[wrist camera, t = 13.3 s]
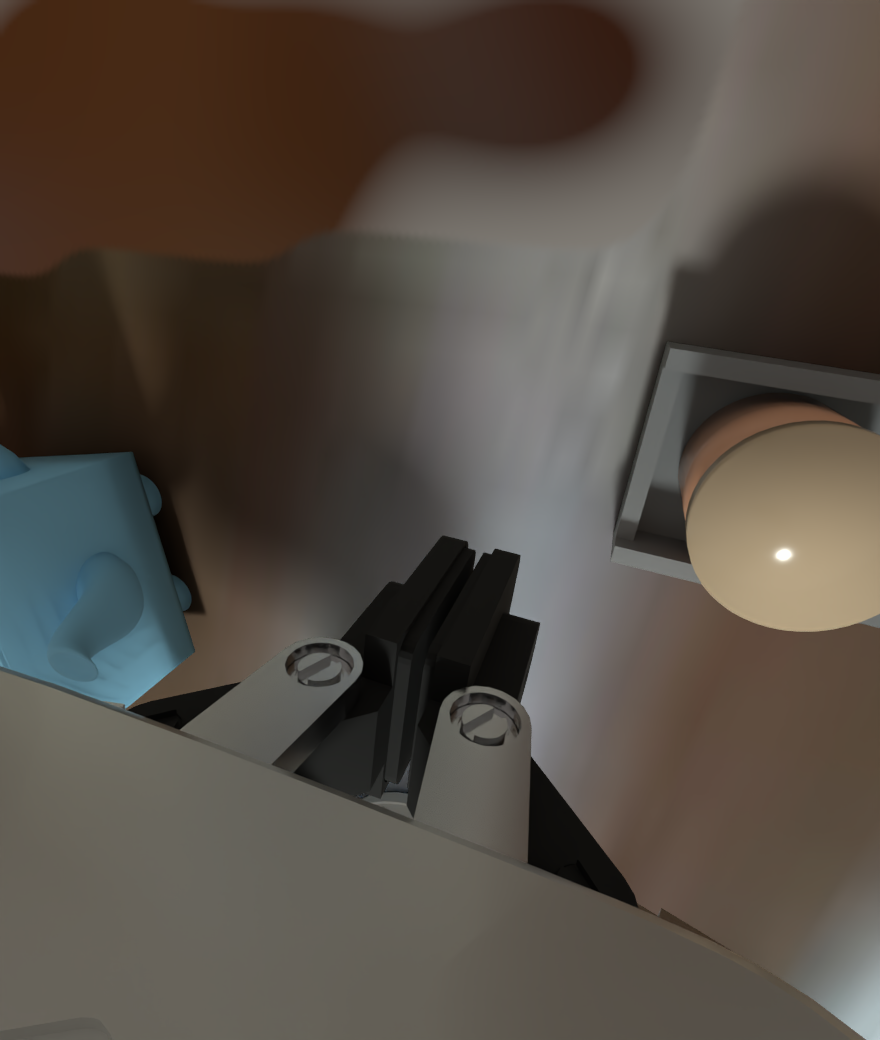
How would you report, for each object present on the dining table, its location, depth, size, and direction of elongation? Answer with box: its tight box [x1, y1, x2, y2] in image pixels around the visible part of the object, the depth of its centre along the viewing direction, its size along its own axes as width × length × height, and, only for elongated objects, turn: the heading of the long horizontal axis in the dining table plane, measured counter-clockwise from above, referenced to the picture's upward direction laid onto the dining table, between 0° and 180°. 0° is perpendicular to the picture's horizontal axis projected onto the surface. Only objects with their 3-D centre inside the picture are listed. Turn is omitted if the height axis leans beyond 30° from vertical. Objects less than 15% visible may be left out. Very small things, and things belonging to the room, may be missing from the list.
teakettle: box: [0, 444, 195, 709], centre depth 33 cm, size 19×19×15 cm
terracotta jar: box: [678, 393, 880, 632], centre depth 22 cm, size 7×7×7 cm
